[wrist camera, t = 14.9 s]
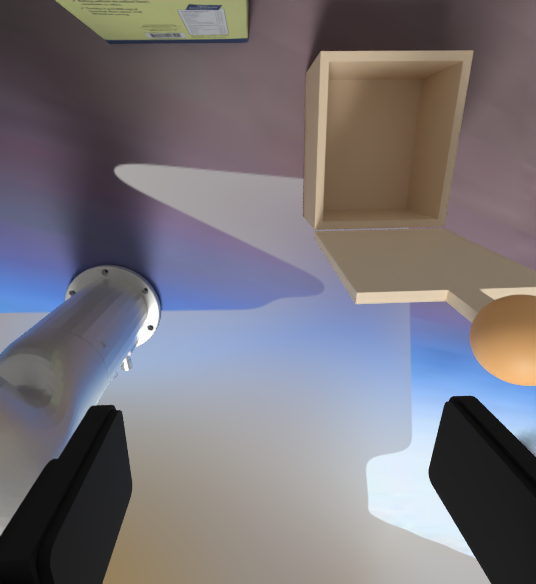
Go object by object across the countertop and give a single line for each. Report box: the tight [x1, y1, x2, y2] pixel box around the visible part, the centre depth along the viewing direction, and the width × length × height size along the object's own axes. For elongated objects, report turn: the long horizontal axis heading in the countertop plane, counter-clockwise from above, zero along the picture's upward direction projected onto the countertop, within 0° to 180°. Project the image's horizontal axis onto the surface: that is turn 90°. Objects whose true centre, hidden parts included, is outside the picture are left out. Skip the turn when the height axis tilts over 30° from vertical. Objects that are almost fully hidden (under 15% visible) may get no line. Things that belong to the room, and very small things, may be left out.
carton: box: [303, 50, 474, 230], centre depth 39 cm, size 16×14×9 cm
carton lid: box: [314, 228, 536, 386], centre depth 27 cm, size 24×14×5 cm
